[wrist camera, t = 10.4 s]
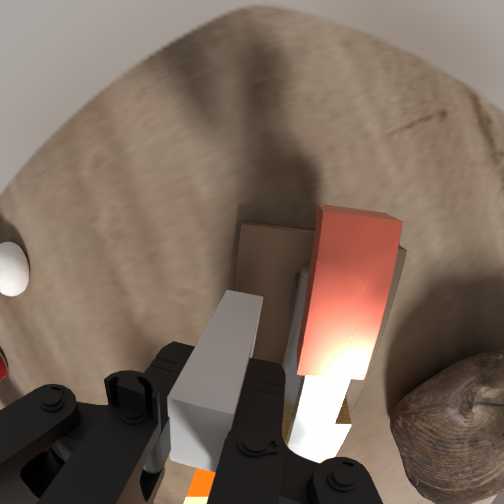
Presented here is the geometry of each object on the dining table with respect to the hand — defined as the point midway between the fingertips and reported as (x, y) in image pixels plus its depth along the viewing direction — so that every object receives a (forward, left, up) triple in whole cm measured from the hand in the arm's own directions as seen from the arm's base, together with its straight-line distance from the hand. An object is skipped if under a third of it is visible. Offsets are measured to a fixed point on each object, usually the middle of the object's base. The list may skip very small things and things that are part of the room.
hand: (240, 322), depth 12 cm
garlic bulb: (-28, -6, -11) cm, 30 cm away
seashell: (+23, -12, -11) cm, 29 cm away
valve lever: (+4, -4, 0) cm, 5 cm away
